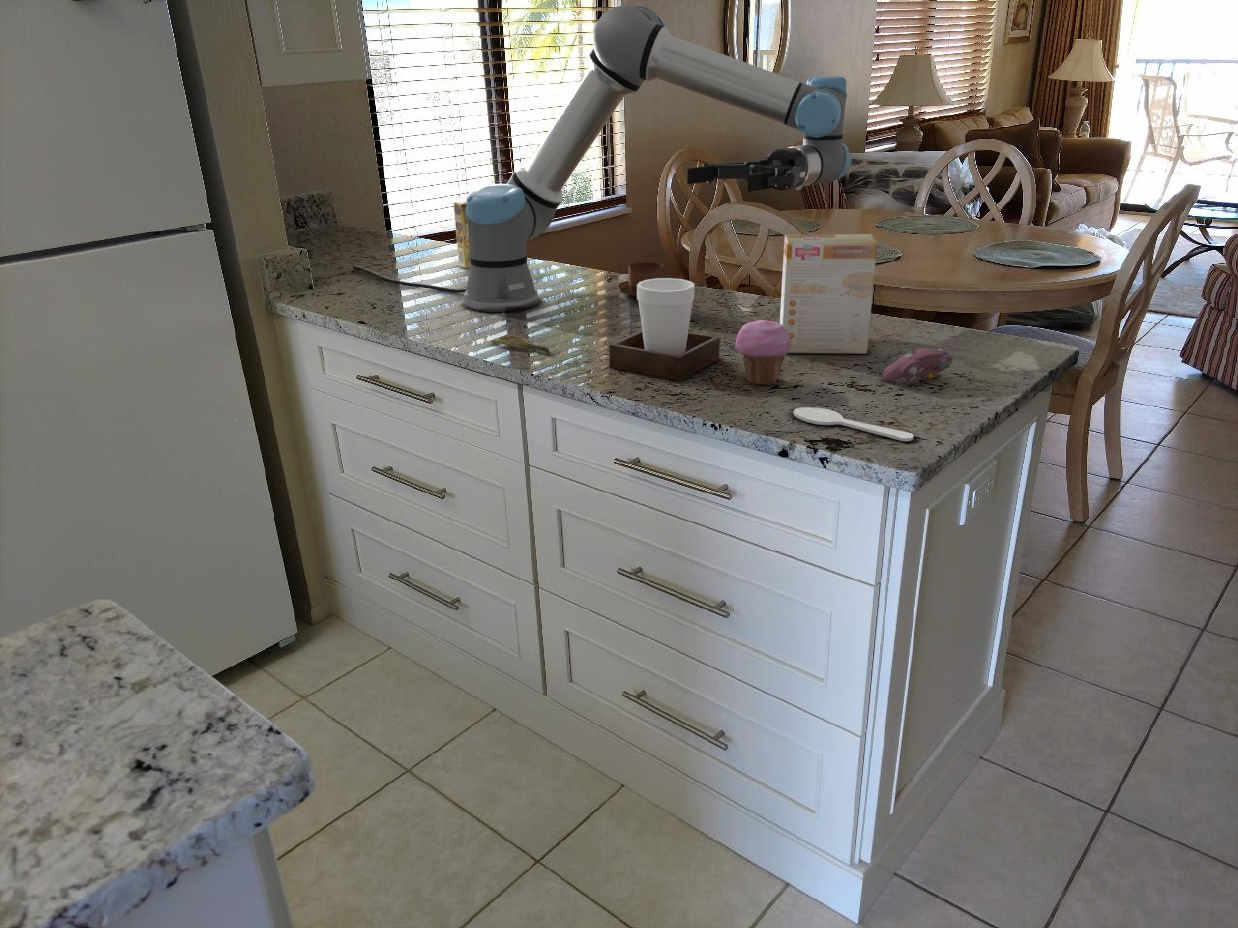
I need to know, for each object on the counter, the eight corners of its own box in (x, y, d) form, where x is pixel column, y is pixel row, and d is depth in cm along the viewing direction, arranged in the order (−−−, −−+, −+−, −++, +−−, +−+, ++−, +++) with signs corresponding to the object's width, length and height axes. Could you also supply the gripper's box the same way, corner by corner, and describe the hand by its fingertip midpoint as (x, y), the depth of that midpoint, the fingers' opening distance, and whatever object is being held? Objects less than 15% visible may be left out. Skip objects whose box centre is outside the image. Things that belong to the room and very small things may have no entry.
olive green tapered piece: (545, 356, 167) (544, 345, 166) (489, 348, 174) (488, 337, 173) (559, 350, 170) (559, 339, 169) (504, 342, 177) (503, 332, 176)
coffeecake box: (861, 343, 172) (872, 233, 164) (867, 355, 166) (879, 241, 158) (777, 342, 174) (784, 233, 166) (780, 353, 167) (787, 241, 159)
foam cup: (688, 370, 158) (689, 292, 152) (633, 367, 159) (632, 290, 154) (695, 353, 166) (697, 279, 161) (643, 350, 168) (643, 277, 163)
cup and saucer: (632, 285, 214) (632, 258, 212) (682, 291, 209) (682, 262, 207) (608, 298, 204) (608, 269, 202) (660, 303, 199) (660, 274, 197)
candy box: (465, 269, 232) (460, 204, 225) (458, 266, 235) (452, 202, 229) (498, 264, 236) (494, 200, 230) (489, 261, 239) (485, 198, 233)
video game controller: (893, 396, 151) (910, 363, 146) (878, 376, 154) (895, 343, 149) (943, 387, 155) (961, 355, 150) (927, 367, 157) (945, 335, 152)
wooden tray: (609, 367, 161) (609, 344, 160) (651, 347, 172) (651, 325, 170) (679, 381, 154) (680, 357, 153) (719, 359, 165) (720, 336, 163)
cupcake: (788, 391, 149) (792, 329, 145) (732, 389, 151) (734, 327, 146) (789, 373, 157) (792, 314, 153) (736, 371, 159) (738, 312, 154)
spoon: (904, 445, 129) (904, 442, 128) (786, 416, 139) (786, 413, 139) (920, 433, 132) (920, 430, 132) (803, 406, 143) (804, 403, 142)
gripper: (846, 195, 173) (775, 209, 160) (738, 182, 189) (665, 195, 176) (850, 151, 170) (778, 162, 157) (739, 143, 186) (665, 152, 173)
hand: (718, 179), depth 166 cm, fingers open, 13 cm apart
